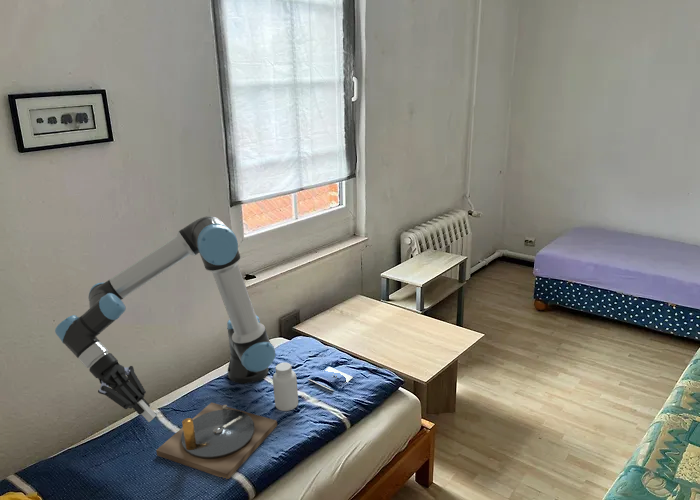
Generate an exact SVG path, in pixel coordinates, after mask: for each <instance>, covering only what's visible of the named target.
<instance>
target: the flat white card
mask: <svg viewBox="0 0 700 500" xmlns="http://www.w3.org/2000/svg"><path fill="white" fill-rule="evenodd" d="M324 371H328V372H334V373H340V374H341V375H343V376H344V377H345V378H346V382H347V383H349V381H351V379H353V378H354V377H353V376H352V375H349V374H347V373H345V372H342V371H340V370H337V369H336V368H333V367H331V366H328V367H327V368H326V369H325V370H324ZM333 375H334V374H333ZM336 377H337V375H336ZM308 381H311V382H314V383H315V384H317V385H319V386H321V387H323V388H326V389H327V390H329V391H333V392H334V391H335V390H333V389H331V388H329V387H327V386H325V385H323V384H321V383H318V382H317V381H315V380H312V379H310V378H309V379H308ZM346 382H345V383H346Z"/></svg>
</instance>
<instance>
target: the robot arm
mask: <svg viewBox="0 0 700 500" xmlns="http://www.w3.org/2000/svg"><path fill="white" fill-rule="evenodd" d="M176 234H177V235H176V236H175V237H173V238H172V239H170V240H169V241H167V242H165V244H163V245H161V246H159V247H158V248H157V249H155V250H153V251H152V252H150V253H149V254H147V255H146V256H144V257H142V258H141V259H139V260H138V261H137V262H135V263H133V264H132V265H130V266H128V267H127V268H125V269H123V271H121V272H119V273H118V274H116V275H115V276H113V277H111V278H110V279H108V280H107V281H103V282H97V283H95V284H94V285H93V286H91V288H90V290H89V293H88V301H89V305H88V306H89V309H87V310H86V311H85V312H84V313H83V314H82V315H80V316H77V315H76V314H73V315H70V316H68V317H66V318H65V319H64V320H62V321H61V322H60V323H58V324H57V326H56V327H55V329H54V333H55V334H56V335H57V337H58V338H59V340H61V342H62V344H64V345H65V346H66V347H67V349H69V350H70V351H71V353H72V354H73V355H75V357H76V358H77V359H78V360H79V361H80V362H81V363H82V364H83V366H84V367H85V368H87V369H88V370H89V372H90V373H91V374H92V375H93V376H94V378H95V379H98V381H99V384H100V388H99V389H98V390H97V393H99V394H101V395H104V396H106V397H107V398H108V399H110V400H112V401H113V402H114V403H116V404H117V405H118V406H120V407H121V408H122V409H125V410H129V409H133V410H134V411H135V412H136V413H137V414H138V415H140V416H141V415H142V417H144V419H145V420H146V421H147V422H148V423H150V422H151V421H152V420H154V419H155V418H156V417H157V414H156V413H155V412H154V411H153V409H152V408H151V404H150V403H149V402H148V401H147V400H146V399H145V394H147V390H146V389H145V388H144V386H143V384H142V383H141V381H140V380H139V379H140V378H138V376H137V374H136V372H135V368H134V366H133V365H130V366H127V367H125V366H124V365H123V364H120V363H119V361H118V359H117V358H116V357H115V356H114V355H113V354H112V353H111V352H109V349H108V348H107V347H106V346H105V345H104V343H102V342H101V340H99V338H98V337H97V336H99V335H100V334H101V333H102V332H103V331H104V330H106V329H107V328H108V327H109V326H111V324H113V323H114V322H115V321H116V320H118V319H119V318H120V317H121V316H122V315H123V313H125V311H126V305H125V304H124V302H123V300H124V299H125V298H127V297H128V296H129V295H131V294H132V293H134V292H136V291H137V290H138V289H140V288H141V287H143V286H145V285H146V284H147V283H150V282H151V281H152V280H154V279H155V278H157V277H158V276H160V275H161V274H163V273H165V272H167V271H168V270H169V269H171V268H173V267H174V266H175V265H177V264H178V263H180V262H182V261H183V260H185V259H186V258H188V257H190V256H196V255H198V254H199V255H200V258H201V261H202V263H203V267H204V268H205V269H204V270H206V271H208V272H210V273H211V274H212V276H213V278H214V281H215V284H216V286H217V290H218V291H219V295H220V297H221V300H222V303H223V305H224V307H225V311H226V313H227V316H228V319H229V320H228V321H227V324H226V330H227V335H228V344H229V353H230V354H229V355H230V359H229V363H228V367H227V376H228V379H229V380H230V381H232V382H234V383H236V384H253V383H256V382H259V381H261V380H263V379H265V377H267V376H268V374H269V372H270V371H269V367H270V366H271V365H272V364H273V362H274V361H275V358H276V350H275V346H274V345H273V344H272V342H271V341H270V339H269V336H268V332H267V330H266V326H265V325H264V324H263V323H261V321H260V317H259V316H258V315H257V314H256V310H255V309H254V306H253V304H252V300H251V298H250V294H249V292H248V289H247V286H246V283H245V280H244V276H243V275H242V272H241V268H240V266H239V262H240V260H241V258H242V257H241V254H240V251H239V243H238V239H237V236H236V234H235V233H234V231H233V230H232V229H231V228H229V227H228V226H227V225H226V223H224V222H223V220H221V219H220V218H218V217H215V216H211V215H208V216H202V217H200V218H198V219H196V220H194V221H192V222H191V223H190V224H188V225H185V226H184V227H183V228H182V229H179V231H177V233H176Z"/></svg>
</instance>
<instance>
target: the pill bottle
mask: <svg viewBox="0 0 700 500" xmlns="http://www.w3.org/2000/svg"><path fill="white" fill-rule="evenodd" d="M297 379H298V378H297V374H296V372H295V371H294V370H293V369H292V364H290V363H289V362H281V363H278V364H276V366H275V373H274V374H273V375H272V384H273V385H272V386H273V397H274V405H275V408H276V409H277V410H279V411H282V412H289V411H292V410H294V409H296V408H297V407H298V405H299V391H298V380H297Z"/></svg>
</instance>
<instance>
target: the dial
mask: <svg viewBox="0 0 700 500" xmlns="http://www.w3.org/2000/svg"><path fill="white" fill-rule="evenodd" d="M237 410H238V409H237ZM237 410H230V409H224V410H216V411H212V412H208V413H206V414H203V415H201V416H199V417H197V418H195V419H194V420H193V418H191V417H187V418H184V419H183V420H182V421H181V424H182V425H181V426H182V427H183V432H182V436H181V441H182V446H183V448H184V450H185V451H186V452H187V453H188V454H190V455H192V456H194V457H198V458H203V459H214V458H221V457H225V456H228V455H231V454H233V453H235V452H237V451H239V450H241V449H242V448H243V447H245V446H246V445H247V444H248V443H249V442H250V440H251V439H252V437H253V435H254V422H253V420H252V419H251V417H250V416H248V415H247V414H245V413H244V412H241V411H242V410H241V411H237Z"/></svg>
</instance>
